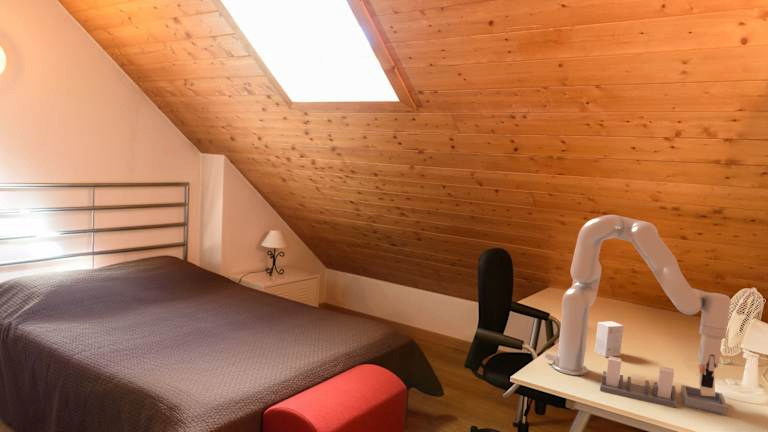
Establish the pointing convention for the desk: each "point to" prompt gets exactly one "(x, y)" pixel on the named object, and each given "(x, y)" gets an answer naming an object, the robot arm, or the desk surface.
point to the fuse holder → (657, 394)
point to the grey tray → (703, 400)
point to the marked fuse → (705, 390)
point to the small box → (608, 339)
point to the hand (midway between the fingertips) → (705, 383)
